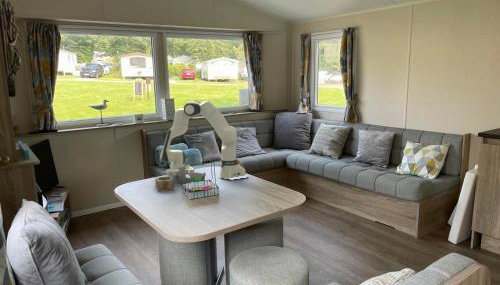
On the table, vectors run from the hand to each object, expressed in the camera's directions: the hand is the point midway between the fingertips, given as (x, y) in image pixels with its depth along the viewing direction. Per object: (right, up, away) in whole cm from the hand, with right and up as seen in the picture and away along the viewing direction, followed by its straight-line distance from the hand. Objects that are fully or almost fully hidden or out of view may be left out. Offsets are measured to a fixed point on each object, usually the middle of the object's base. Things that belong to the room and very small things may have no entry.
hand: (182, 174), depth 265 cm
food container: (+11, -8, -7) cm, 15 cm away
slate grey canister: (0, -6, +1) cm, 7 cm away
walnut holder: (-11, -8, -10) cm, 17 cm away
